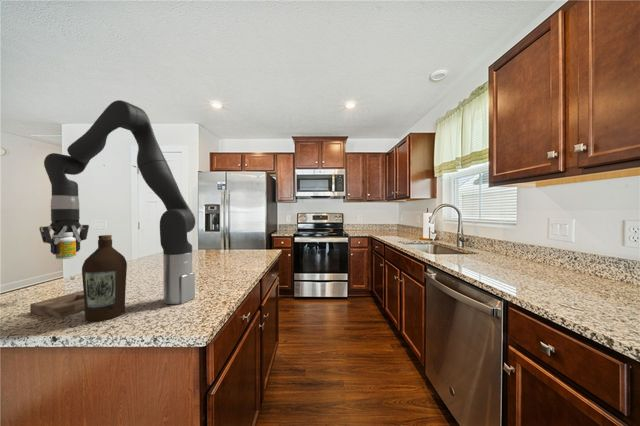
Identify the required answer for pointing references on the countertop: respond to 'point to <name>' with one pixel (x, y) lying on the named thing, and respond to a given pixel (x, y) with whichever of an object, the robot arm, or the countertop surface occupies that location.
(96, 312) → the olive oil
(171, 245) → the robot arm
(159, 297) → the countertop surface
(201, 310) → the countertop surface
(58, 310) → the socket board
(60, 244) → the supplement bottle
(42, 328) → the countertop surface
